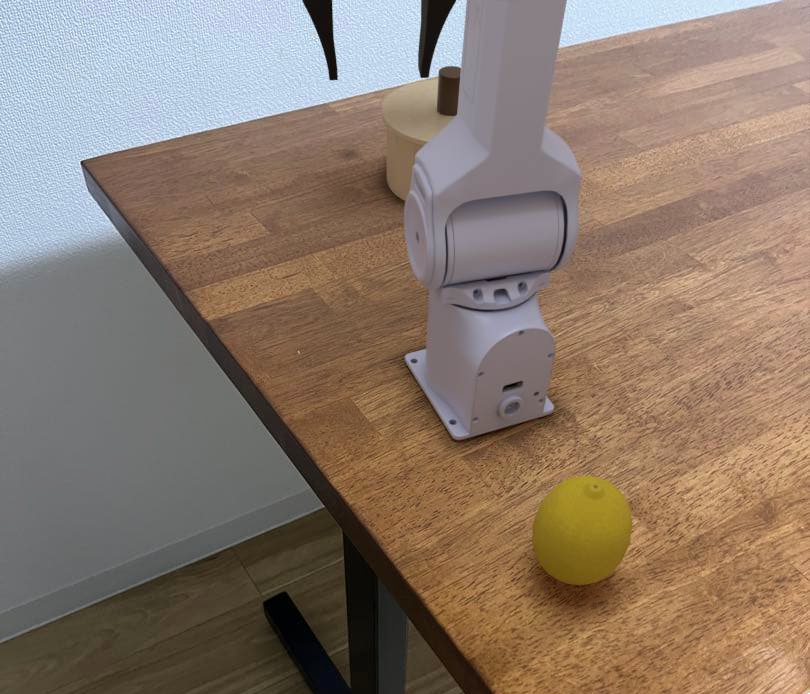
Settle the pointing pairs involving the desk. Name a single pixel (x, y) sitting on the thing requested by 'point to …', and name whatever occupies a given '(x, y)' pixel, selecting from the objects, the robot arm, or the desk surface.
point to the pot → (400, 164)
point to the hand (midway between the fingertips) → (378, 74)
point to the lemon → (582, 530)
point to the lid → (423, 107)
